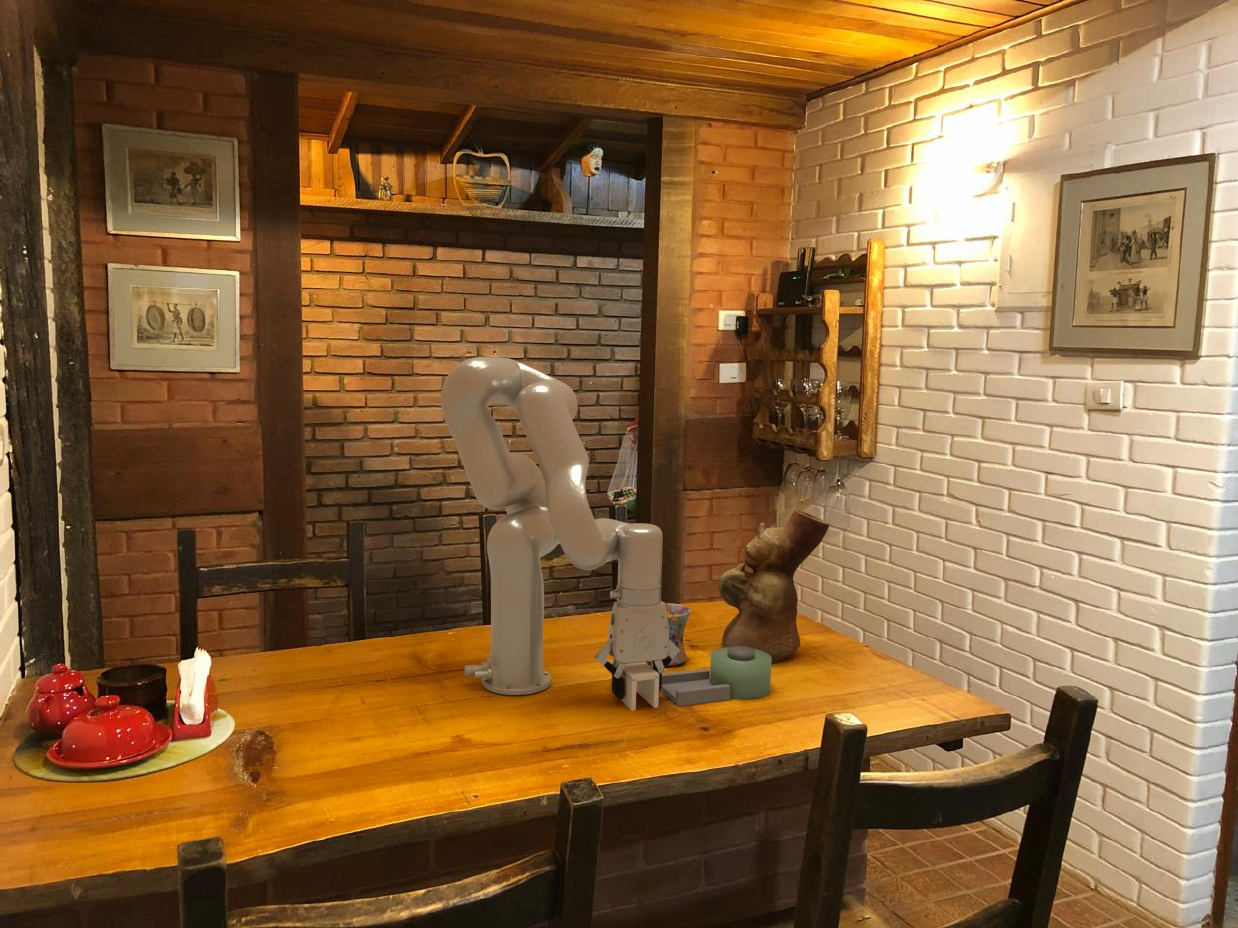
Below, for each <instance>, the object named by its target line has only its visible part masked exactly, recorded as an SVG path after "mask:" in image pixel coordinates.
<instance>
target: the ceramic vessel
mask: <svg viewBox="0 0 1238 928" xmlns="http://www.w3.org/2000/svg"><path fill="white" fill-rule="evenodd" d="M829 527H830V523H829V522H827V521H825V520H823V519H821V518H819V517H817V516H815V515H812V514H811V513H808V512H806V511H803V510H801V509H794V510H793V511H792V513H791V515H790V517H789V519H788V521H787V522H786V523H785V524H784V526H782V527H767V526H766V524H765V523H764V522H761V523H760V524H759V526H758V529H757V535H755V537H754V538H753V539H752V540H751V541H750V542H748V543H747V545H745V547H744V550H745V554H744V563H740V564H739V565H738V566H736V567H734V568H732V569H729V570H726V571H725V572H723V574H721V576H720V578H719V579H718V592H719V595H720V597H721V599H722V600H723V601H724V603H726V604H728V606H731V607H734V608H736V609H737V610H738V613H737V614H736V616H734V617H733V618H732V620H730V621H729V623H728V624H727V625H726V627H725V629H723V630H724V631H723V634H722V637H721V648H726V647H732V646H746V647H750V648H753V649H757V650H760V651H763V652H765V653H767V654H769V655H770V656H771V658H772V661H771V664H774V663H778V662H781V661H783V660H786V659H788V658H789V657H791V656H793V655H794V653H795V652H796V651H798V650H799V648H800V647H801V638H800V634H799V631H798V625H797V615H798V601H799V599H798V593H797V588H796V586H795V582H794V576H795V573H796V571H797V569H798V568H799V566H801V565H802V563H804V561H805V560H807V558H808V557H809V556H810V555H811V554H812V553H813V552H814V550H816V548H818V546H819V545H820V544H821V543H822V541H823V539H824V538H825V536H826V535H827V532H828V529H829ZM746 567H747V568H750V569H751V570H752V572H749V571H747V570H746Z"/></svg>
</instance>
